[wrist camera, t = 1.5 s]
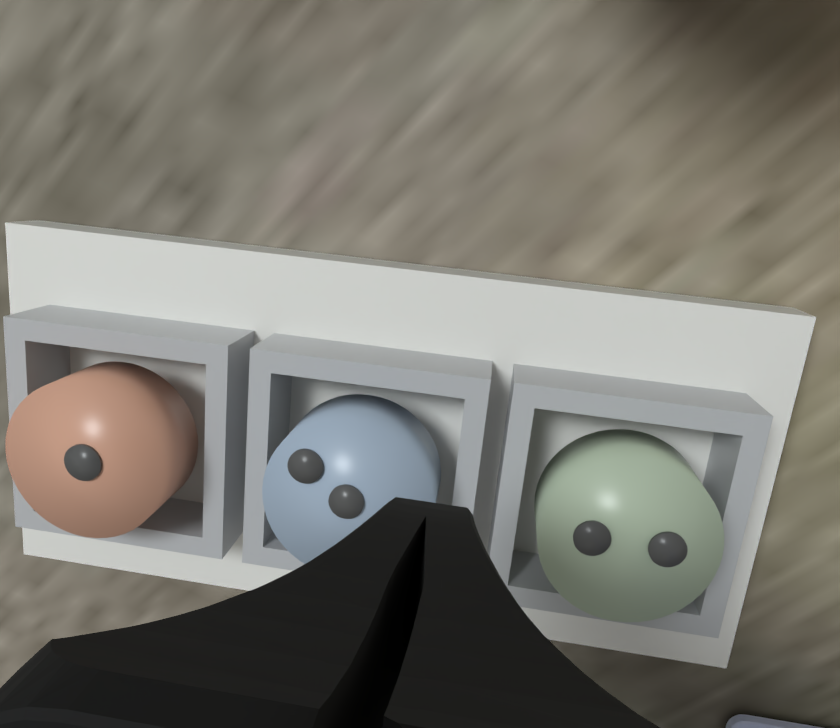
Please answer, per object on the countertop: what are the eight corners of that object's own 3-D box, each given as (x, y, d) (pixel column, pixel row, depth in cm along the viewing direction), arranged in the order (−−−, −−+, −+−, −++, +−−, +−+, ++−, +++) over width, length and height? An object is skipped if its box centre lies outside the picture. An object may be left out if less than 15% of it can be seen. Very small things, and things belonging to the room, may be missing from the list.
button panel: (712, 637, 22) (748, 716, 19) (51, 532, 25) (-20, 587, 21) (793, 307, 20) (852, 332, 16) (38, 219, 22) (-48, 226, 18)
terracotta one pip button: (197, 515, 20) (162, 551, 18) (56, 493, 21) (7, 526, 19) (199, 371, 19) (163, 394, 17) (50, 352, 20) (-2, 371, 17)
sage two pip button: (683, 590, 19) (704, 637, 17) (523, 565, 19) (525, 609, 17) (717, 441, 18) (744, 473, 16) (546, 418, 18) (551, 447, 16)
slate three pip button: (432, 551, 20) (423, 593, 18) (282, 528, 20) (257, 566, 18) (449, 405, 18) (442, 432, 16) (290, 384, 19) (264, 408, 17)
